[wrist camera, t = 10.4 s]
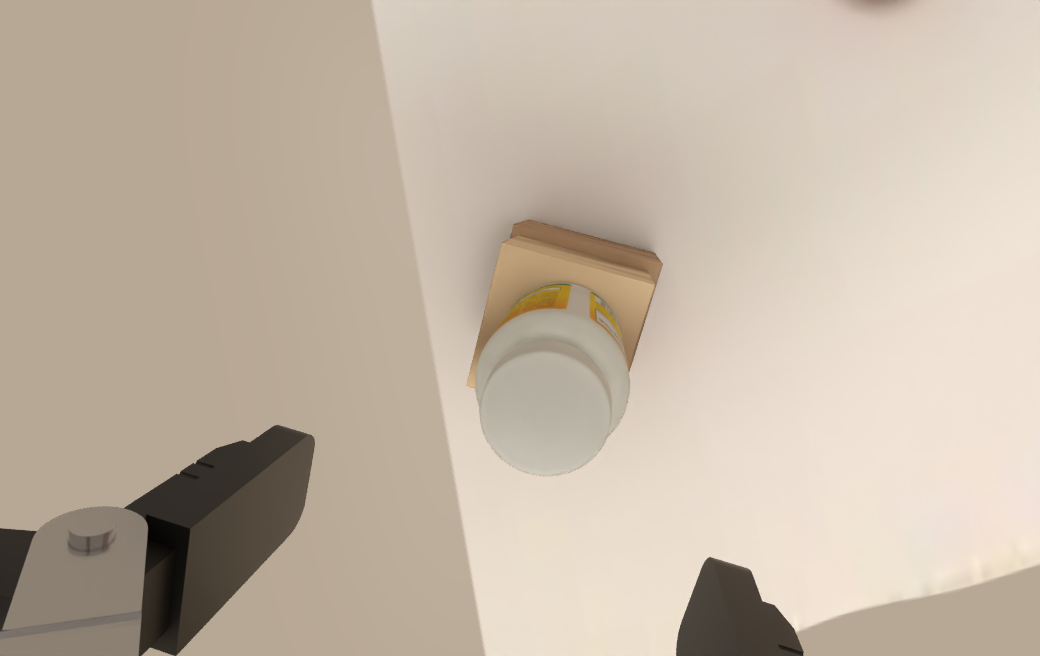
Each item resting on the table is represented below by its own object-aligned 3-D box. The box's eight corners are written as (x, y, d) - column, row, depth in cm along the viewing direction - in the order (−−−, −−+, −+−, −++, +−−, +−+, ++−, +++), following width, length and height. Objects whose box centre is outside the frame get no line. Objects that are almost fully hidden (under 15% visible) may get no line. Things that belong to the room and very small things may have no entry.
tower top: (518, 235, 31) (501, 242, 27) (648, 270, 31) (655, 284, 26) (487, 358, 33) (466, 385, 28) (609, 393, 33) (608, 428, 28)
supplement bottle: (639, 305, 26) (667, 368, 17) (594, 411, 28) (598, 523, 18) (524, 263, 26) (490, 302, 17) (486, 370, 28) (435, 461, 19)
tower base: (528, 219, 37) (513, 224, 31) (654, 253, 36) (662, 263, 31) (498, 339, 39) (479, 365, 33) (617, 373, 38) (618, 405, 33)
